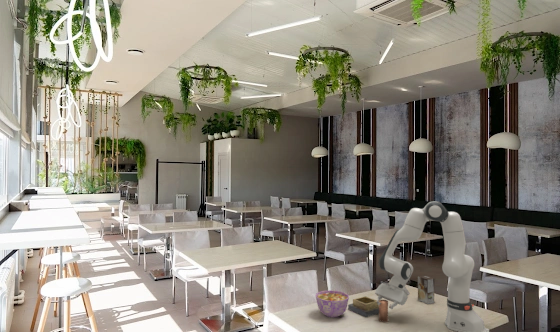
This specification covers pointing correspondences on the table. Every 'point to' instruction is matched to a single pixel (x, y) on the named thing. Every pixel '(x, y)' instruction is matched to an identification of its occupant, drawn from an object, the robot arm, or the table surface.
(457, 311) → the robot arm
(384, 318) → the spout can
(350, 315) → the table surface
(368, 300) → the grey square holder
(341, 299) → the bowl of food
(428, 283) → the coffee box
